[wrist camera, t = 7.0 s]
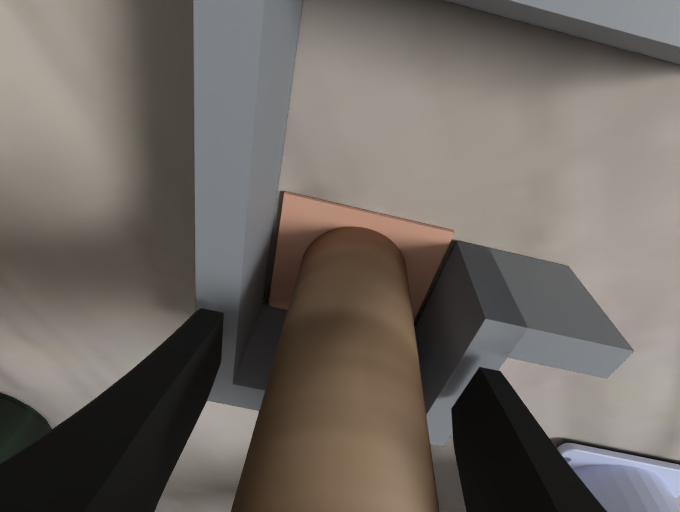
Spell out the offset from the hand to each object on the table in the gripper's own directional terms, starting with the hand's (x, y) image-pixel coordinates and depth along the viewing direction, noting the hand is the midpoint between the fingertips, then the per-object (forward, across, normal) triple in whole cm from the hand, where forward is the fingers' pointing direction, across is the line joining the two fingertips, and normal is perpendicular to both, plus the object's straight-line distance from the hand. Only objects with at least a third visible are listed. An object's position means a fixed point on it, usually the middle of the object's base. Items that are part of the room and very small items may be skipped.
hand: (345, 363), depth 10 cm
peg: (+4, 0, 0) cm, 4 cm away
